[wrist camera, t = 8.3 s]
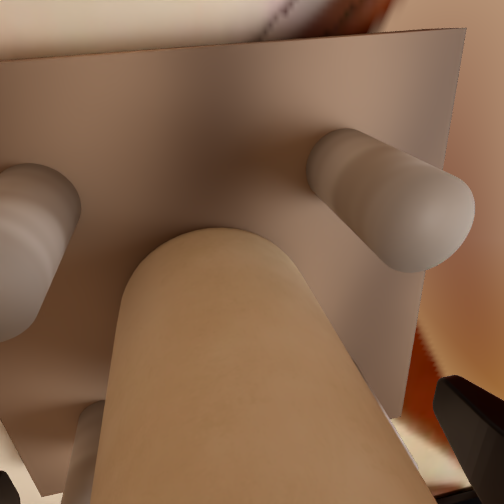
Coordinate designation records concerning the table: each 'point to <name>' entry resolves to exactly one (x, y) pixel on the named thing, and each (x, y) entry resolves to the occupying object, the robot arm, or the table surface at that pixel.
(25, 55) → the table surface
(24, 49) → the table surface
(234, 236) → the candle
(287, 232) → the peg holder
